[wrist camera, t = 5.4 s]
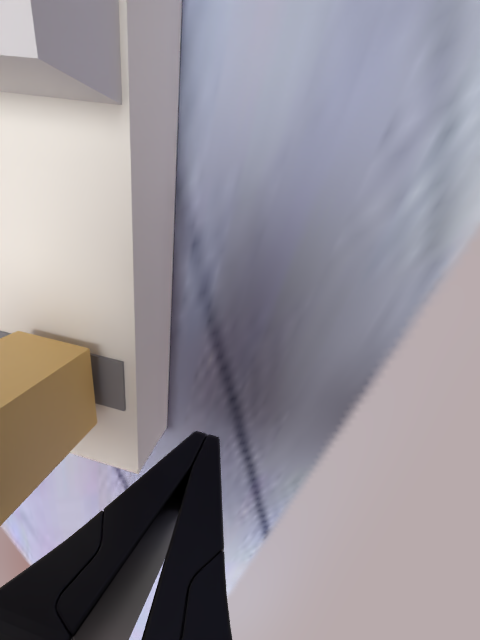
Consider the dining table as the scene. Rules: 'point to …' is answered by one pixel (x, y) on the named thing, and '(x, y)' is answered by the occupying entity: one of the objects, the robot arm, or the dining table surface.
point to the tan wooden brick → (40, 410)
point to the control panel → (93, 199)
